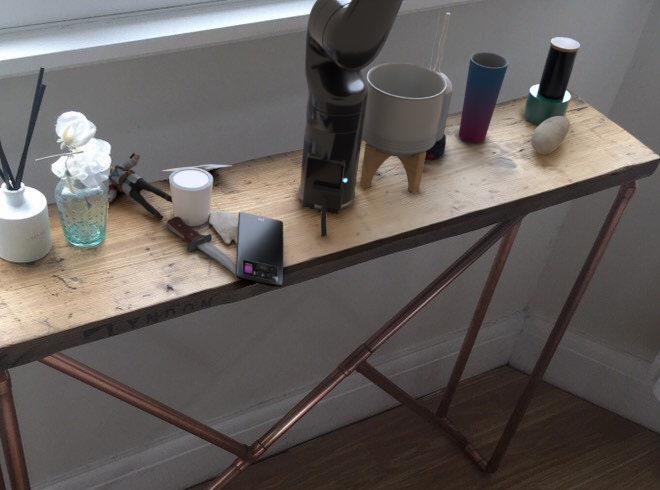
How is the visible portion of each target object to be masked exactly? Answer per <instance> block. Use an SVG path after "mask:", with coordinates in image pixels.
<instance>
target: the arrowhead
mask: <svg viewBox="0 0 660 490" xmlns="http://www.w3.org/2000/svg"><path fill="white" fill-rule="evenodd" d="M238 218H239V215H237V214H235V213H233V212H230V211H225V210H219V209H217V210H210V213H209V219H208V224H209V225H211V226H212V228H213V229H214V230H215V232H216V233H217V234H218V235H219V236H220V237H221V239H222V240H223V243H224V244H226V245H230V244H231V243H232V241H234V242H235V244H236V245H237V237H238Z"/></svg>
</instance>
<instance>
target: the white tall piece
mask: <svg viewBox="0 0 660 490" xmlns="http://www.w3.org/2000/svg"><path fill="white" fill-rule="evenodd" d="M440 16H441V13H439V14H438V20H437V26H436V29H438V28H439V22H440ZM450 20H451V13H450V12H446V13H445V17H444V22H443V27H442V31H441V35H440V38H439V41H438V49H437V57H436V62H435V65H434V68H433V69H432V61H433V54H434V49H431V50H432V51H431V56H430V57H431V58H430V63H429V69H431V70H433V71H435V72H437V73H439V74H440V75H441V76H442V77H443V78H444V79H445V81H446V84H447V86H446V92H445V97H444V102H443V107H442V112H441V117H440V122H439V127H438V132H437V137H436V142H435V144H434V145H433V147H432V148H430V149H429V150H427V151H425V152H426V157H425V162H427V161H435V160H438V159H440V158H441V157H443V156H444V154H445V148H446V145H447V136H446V133H445V130H446V125H447V120H448V116H449V115H448V114H449V110H450V105H451V101H452V96H453V84H452V82H451V80H450V78H449V77H448V76H447V75H446V74H444V73H443V72H441V66H442V63H443V58H444V49H445V43H446V42H445V41H446V39H447V36H448V35H447V34H448V29H449V24H450ZM435 34H436V35H435V37H434V40H433V42H432V45H435V41H436V40H437V39H436V38H437V37H438V32H436V33H435Z"/></svg>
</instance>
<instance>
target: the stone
mask: <svg viewBox="0 0 660 490" xmlns="http://www.w3.org/2000/svg"><path fill="white" fill-rule="evenodd" d="M570 125H571V124H570V120H569V119H568V118H567V117H566V116H565V117H563V116H555V117H551V118H549V119H547V120H545V121H544V122H542V123H541V124H540V125H537V127H536V128H535V129H534V131H533V132H532V134H531V138H530V144H531V147H532V149H533V150H534V151H536V153H538V154H542V155H547V154H551V153H552V152H554V151H555V150H557V148H559V147H560V145H561V144H562V143H563V142H564V140H565V138H566V137H567V135H568V134H569V131H570V128H571V127H570Z"/></svg>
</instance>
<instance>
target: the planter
mask: <svg viewBox="0 0 660 490" xmlns="http://www.w3.org/2000/svg"><path fill="white" fill-rule="evenodd" d="M365 81H366V84H367V87H368V98H367V105H366V112H365V120H364V126H363V134H362V141H364V142H365V145H364V151H363V159H362V167H361V172H360V173H361V174H360V180H359V181H360V182H359V185H360V186H361V187H363V188H364V189H368V188H371V187H372V183H373V180H374V177H375V175H376V173H377V171H378V170H379V168H380V167H381V166H382V165H383V163H385V162H386V161H387V160H388V159H389V158H391V157H395V158H397V159H399V161H400V163H401V164H402V166H403V168H404V171H405V174H406V179H407V192H408V193H409V194H410V195H411V196H412V195H416V194H419V192H420V187H421V184H422V183H421V181H422V177H423V171H424V167H425V162H426V161H425V157H426V152H425V151H427V150H429V149H430V148H432V147H433V145H434V144H435V142H436V137H437V132H438V127H439V122H440V117H441V112H442V107H443V102H444V97H445V92H446V86H447V84H446V81H445V79H444V78H443V77H442V76H441V75H440V74H439V73H437V72H435V71H433V69H432V68H431V69H430V67H426V66H423V65H419V64H415V63H410V62H387V63H382V64H378V65H375V66H374V67H372V68H371V69H369V71H368V72H367V74H366V79H365Z"/></svg>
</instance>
